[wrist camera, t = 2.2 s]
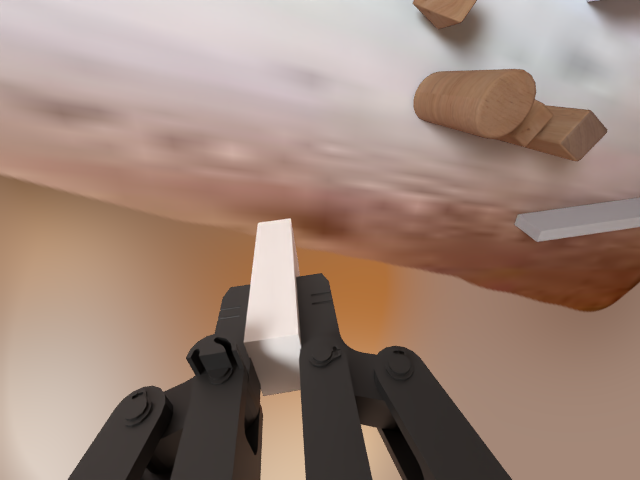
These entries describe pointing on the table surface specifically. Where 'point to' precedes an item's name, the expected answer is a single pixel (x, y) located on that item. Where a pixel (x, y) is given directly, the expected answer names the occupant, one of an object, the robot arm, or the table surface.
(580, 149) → the wooden block set
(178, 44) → the table surface
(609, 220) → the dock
